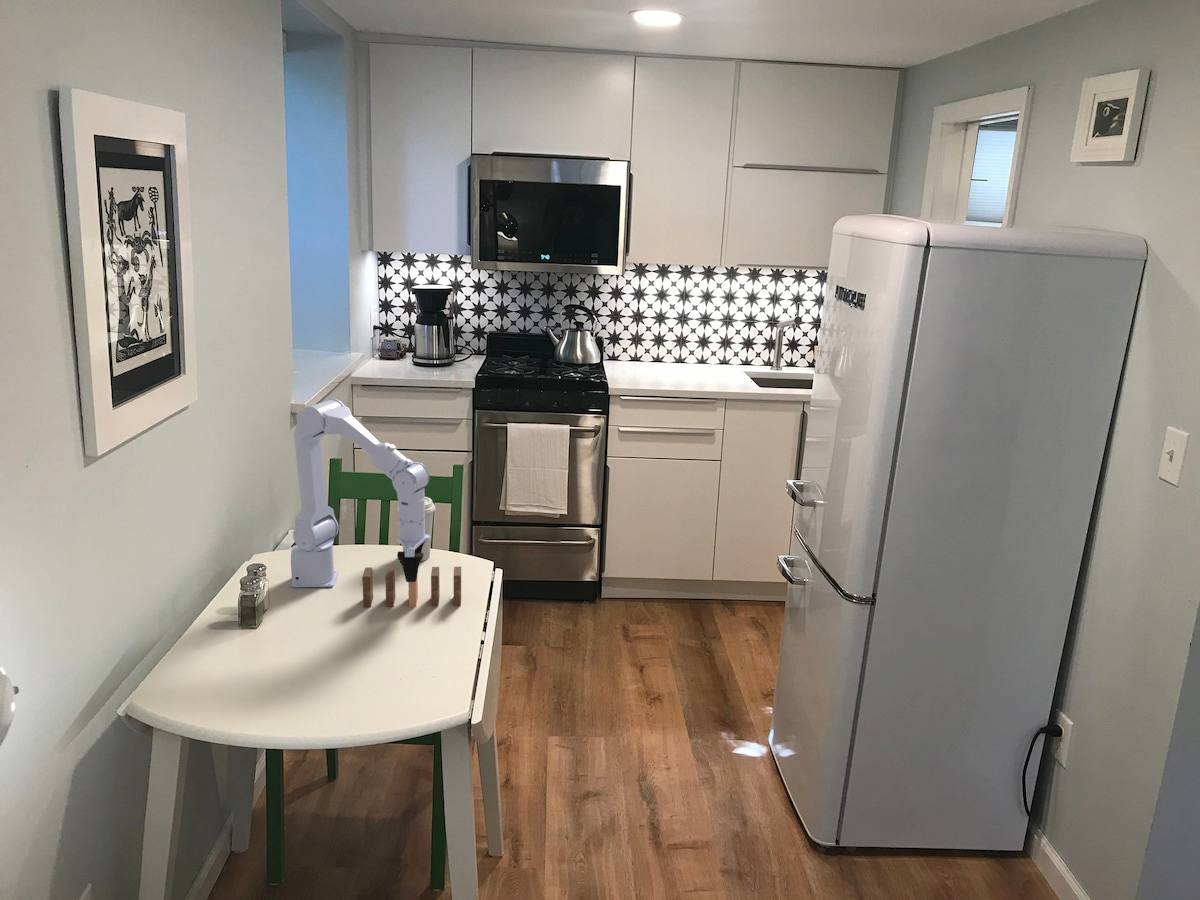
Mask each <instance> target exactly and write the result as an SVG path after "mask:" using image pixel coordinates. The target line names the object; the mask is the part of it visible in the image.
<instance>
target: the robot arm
mask: <svg viewBox="0 0 1200 900" xmlns="http://www.w3.org/2000/svg"><path fill="white" fill-rule="evenodd" d="M295 418H296V426H295V428H294V432H293V439H294V448H295V458H296V468H297V474H298V484H299V486H298V487H299V494H300V502H301V504H300V505H301V508H300V510H299V512H298V513H297V515H296V517H295V519H294V528H293V532H292V538H293V541H294V544H295V545H293V546H292V547H291V553H290V569H291V573H290V574H291V588H333V587H334V585H335V582H336V580H337V577H338V574H339V572H338V571H335V566H334V548H333V547H334V542H335V538H336V536H337V535H338V533H339V526H340V525H339V523H338V520H337V519H336V517H335V516H336V515H335V511H334V508H332V507H331V506H328V504H327V498H326V487H325V478H324V469H323V458H322V448H321V440H322V439H324V437H325V436H326V435H342V436H344V437H345V438H346V439H347V440H349V441H351V442H352V443H353V444H355V445H356V446H357V447H359V449H361V450H363V451H364V452H366V453H367V454H368V455H369V459H370V463H371V464H373V466H375V468H377V469H378V470H380V471H381V472H382V473H383V475H386V477H388V478H389V479H390V480H391V482H392V487H393V489H394V490H395V492H396V497H397V498H396V499H397V503H398V504H397V506H398V510H399V512H398V536H397V541H398V542H399V544H400V545H401V546H402V549H403V548H404V549H405V552H403V551H397V555H396V557H397V560H398V561H399V562H400V565H401V566H402V570H403V574H404V578H405V582H406V583H408V582H416V579H417V580H418V573H419V566H420V564H421V562H422V561H421V560H422V558H423V555H424V553H421V551H422V547H423V545H424V543H425V541H429V540H430V535H426V534H425V497H426V496H425V495H426V494H425V490H426V489H425V487H426V486H427V485H428V484H429V481H430V473H429V471H428V468H426V466H425V465H424V464H423V463H422V462H417V461H413V460H410V458H407V457H406V456H405V455H404V454H402V453H401V452H400V451H399V450H398V449H396V448H397V447H396V446H395V445H394V444H393V443H391V444H390V443H389V442H380V441H379V440H378V439H377V438H376V437H375V436H374V435H373V434H372V433H371V432H370V431H368V429H366V427H364V426H363V424H362V423H360V422H359V421H358V420H357V419H356V418H355V417H354V416H353V415H352V412H351V409H350V408H349V407H347V406H346V405H344V403H343V402H342V401H340V400H339V399H337V398H329V399H327V400H326V401H322V402H319V403H316V404H313V405H310V406H305V407H303V408H302V409H301V410H300V411H298V413H296V415H295Z"/></svg>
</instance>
